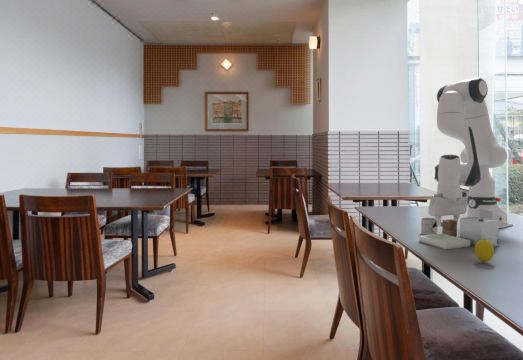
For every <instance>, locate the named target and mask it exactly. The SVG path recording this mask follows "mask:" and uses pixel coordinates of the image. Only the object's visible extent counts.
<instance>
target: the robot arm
mask: <svg viewBox="0 0 523 360" xmlns="http://www.w3.org/2000/svg"><path fill="white" fill-rule="evenodd" d="M488 88H489V87H488V85H487V83H486V81H485V79H483V78H481V77H473V78H471V79H463V80H459V81H457V82H454V83H451V84H449V85H448V84H446V85H444V86H442V87H440V88H439V89H438V91H437V93H436V100H437V102H438V103H437V111H436V126H437V129H438V131H439V132H440V133H442V134H443V135H445V136H446V137H450V138H453V139H456V140H458V141H460V142H461V143H462V144H463V145H464V148H462V150H461V153H460V155H459V156H458V155H456V154H443V155H441V156H440V158H439V162H438V164H436V166H435V167H434V180H435V181H436V182H437V188H436V193H434V194H433V195H432V196H431V197H430V201H429V205H428V212H427V213H428V215H429V216H430V217H434V218H435V220H436V222H437V226H438V228H442V226H443V225H442V224H443V221H442V220H441V219H442V217H445V216H447V217H448V216H453V218H452V219H453V220H456V221H457V222H458V221H459V220H460V218H461V216H460V215H465V218H466V217H479V210H480V209H493V210H499V229H502V228H506V227H508V228H509V227H512V226H514V223H513V222H509V221H508V213H507V212H506V211H505V210H504V209H503V208H502V207H500V206H499V205H498V202H501V201H502V198H501V197H499V196H496V197H495V192H496V191H495V187H496V182H495V178H493V176H492V175H491V172H490V169H494V168H498V167H502V166H503V165H505V163H507V159H508V153H507V150H506V149H505V148H504V147H503V146H501V145H500V143H499V142H498V140H497V139H496V136H495V134H494V132H493V129H492V126H491V120H490V114H489V111H488V110H489V109H488V107H487V103H486V101H485V99H486V97H487V95H488V92H489V91H488ZM461 186H468V192H467V191H464V190H463V189H461Z"/></svg>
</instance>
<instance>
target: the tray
mask: <svg viewBox="0 0 523 360" xmlns="http://www.w3.org/2000/svg"><path fill="white" fill-rule="evenodd" d="M418 242H419V243H422V244H426V245H429V246H433V247H436V248H439V249H444V250H453V249H459V248H460V249H461V248H468V247H471V246H470V240H467V239H463V238H460V236H459V237H458V236H457V237H455V236H450V235H446V234H442V233H437V234H433V235H423V234H422V235H419V236H418Z"/></svg>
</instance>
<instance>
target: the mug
mask: <svg viewBox="0 0 523 360" xmlns="http://www.w3.org/2000/svg"><path fill="white" fill-rule="evenodd" d="M438 228H439V227H438V226H437V222H436V220H435V217H421V225H420V229H421V230H420V232H421V233H420V234H421V235H422V236H423V235H433V234H438Z"/></svg>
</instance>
